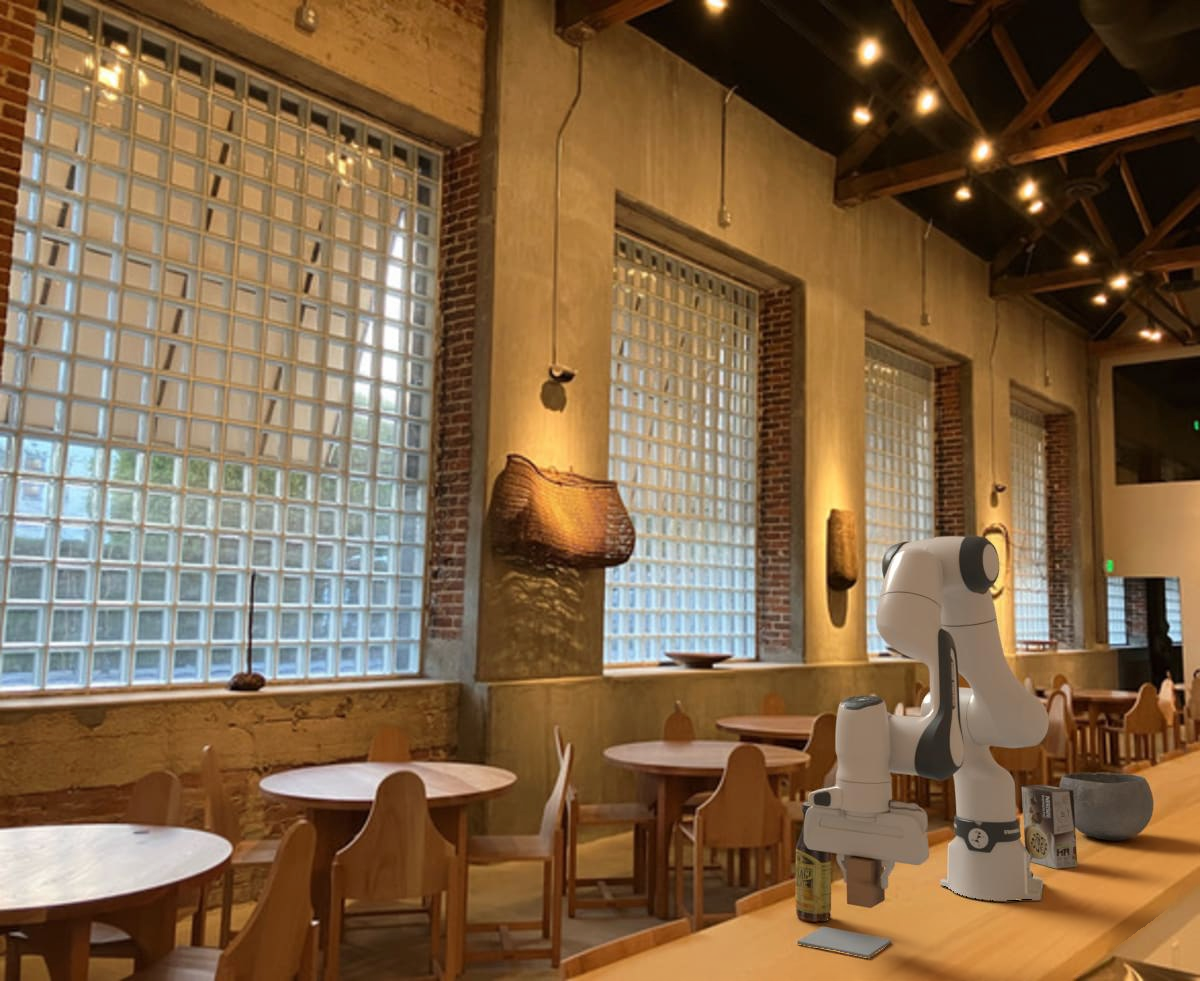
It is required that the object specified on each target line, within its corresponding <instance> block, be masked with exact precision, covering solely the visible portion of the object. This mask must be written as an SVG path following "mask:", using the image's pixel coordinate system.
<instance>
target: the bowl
mask: <svg viewBox="0 0 1200 981" xmlns="http://www.w3.org/2000/svg"><path fill="white" fill-rule="evenodd" d="M1058 787H1059V788H1064V789H1070V790H1074V792H1073V794H1074V813H1075V830H1078V832H1080V833H1082V834H1084V835H1086V836H1088V837H1091V838H1095V839H1099V840H1106V841H1126V840H1128V839H1131V838H1133V837H1135V836H1137V835H1138V834H1140V833H1142V831H1144V830H1145V828H1146V827H1147V826H1148V824H1149V823H1150V821H1151V819H1152V817H1153V812H1154V797H1153V792H1152V789H1151V787H1150V784H1149V782H1148V780H1147V779H1146V778H1145V777H1143V776H1140V775H1135V774H1127V773H1113V772H1102V771H1100V772H1099V771H1096V772H1095V773H1094V772H1070V773H1067V774H1065V775H1062V776H1061V778H1060V782H1059V786H1058Z"/></svg>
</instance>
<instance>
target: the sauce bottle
mask: <svg viewBox="0 0 1200 981" xmlns="http://www.w3.org/2000/svg"><path fill="white" fill-rule="evenodd" d="M801 806H802V807H801V811H802V813H803V814H802V815H803V816H802V829H801V833H800V834H799V838H798V840H797V845H796V846H795V894H794V895H795V897H794V898H795V902H794V904H795V908H796V911H795V912H796V913H795V914H796V916H797V918H799V920H803V921H806V922H808V921H810V922H809V923H816V921H817V923H819V922H818V921H822V922H825V920H827V919H829V920H831V917H832V916H831V915H832V914H831V911H832V859H831V857H832V855H831V853H830V852H824V851H817V850H810V849H808V848H807V846H806V845H805V843H804V822H805V815H806V812H807V810H808V809H809V808H810V807H811V805H810V804H809V802H808V801H806V802H803V803H802V804H801ZM827 921H828V920H827Z"/></svg>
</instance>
